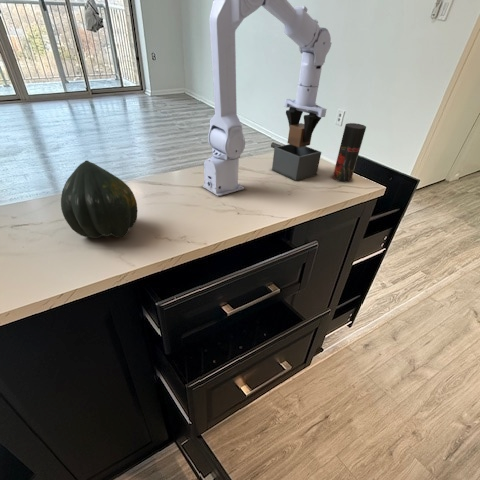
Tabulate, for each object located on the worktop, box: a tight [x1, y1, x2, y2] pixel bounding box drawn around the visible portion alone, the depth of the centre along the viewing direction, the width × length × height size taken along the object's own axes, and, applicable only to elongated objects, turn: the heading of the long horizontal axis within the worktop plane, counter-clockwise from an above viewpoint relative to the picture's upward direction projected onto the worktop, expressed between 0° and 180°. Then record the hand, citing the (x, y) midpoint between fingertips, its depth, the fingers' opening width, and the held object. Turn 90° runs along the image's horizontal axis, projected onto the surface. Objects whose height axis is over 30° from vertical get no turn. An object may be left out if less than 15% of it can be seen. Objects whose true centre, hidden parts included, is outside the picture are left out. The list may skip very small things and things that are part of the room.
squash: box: [60, 159, 139, 239], centre depth 68 cm, size 14×15×15 cm
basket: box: [270, 141, 322, 182], centre depth 104 cm, size 10×17×7 cm, turn 39°
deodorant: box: [332, 122, 367, 183], centre depth 98 cm, size 6×6×15 cm
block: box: [287, 122, 313, 147], centre depth 97 cm, size 5×5×5 cm
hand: (299, 139), depth 98 cm, fingers closed on block, 5 cm apart
